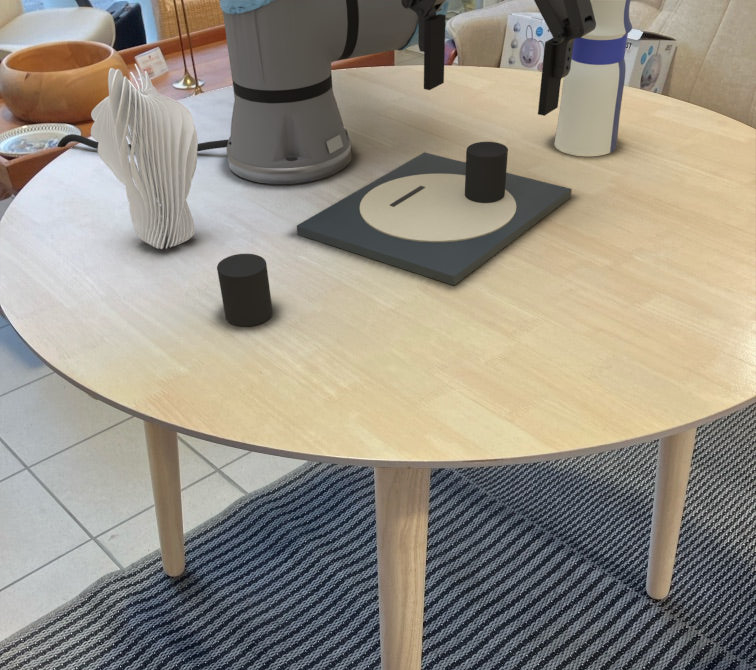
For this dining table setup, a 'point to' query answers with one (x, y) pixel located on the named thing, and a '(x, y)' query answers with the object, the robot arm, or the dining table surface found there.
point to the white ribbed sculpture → (149, 156)
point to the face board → (432, 218)
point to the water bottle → (595, 84)
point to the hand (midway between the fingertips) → (488, 98)
